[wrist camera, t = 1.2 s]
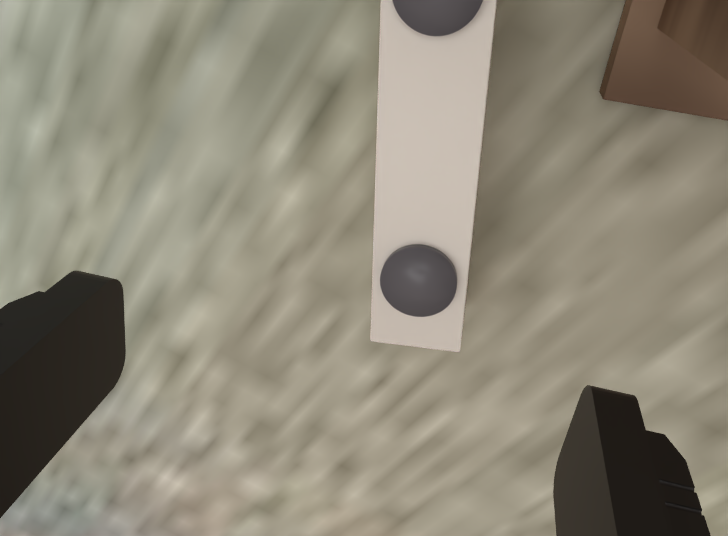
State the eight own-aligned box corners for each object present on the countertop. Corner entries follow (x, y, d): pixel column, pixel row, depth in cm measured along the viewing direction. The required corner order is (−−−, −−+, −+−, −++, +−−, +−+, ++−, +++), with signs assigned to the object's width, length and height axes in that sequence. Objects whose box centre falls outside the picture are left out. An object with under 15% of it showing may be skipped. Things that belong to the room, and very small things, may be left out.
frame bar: (404, -123, 23) (382, -132, 19) (510, -122, 22) (509, -131, 18) (386, 292, 30) (368, 346, 26) (466, 301, 30) (459, 358, 26)
